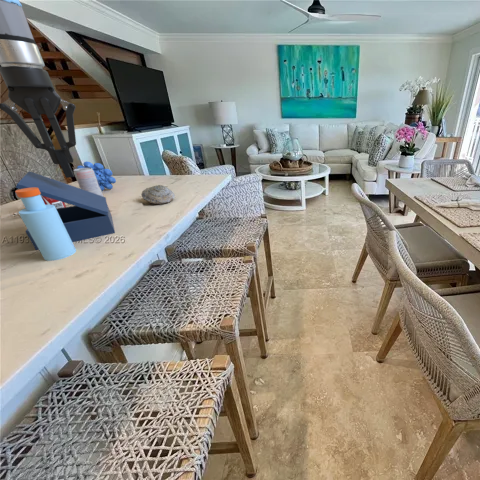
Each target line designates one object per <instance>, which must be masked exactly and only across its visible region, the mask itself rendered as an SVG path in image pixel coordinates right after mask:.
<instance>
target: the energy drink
mask: <svg viewBox="0 0 480 480" xmlns="http://www.w3.org/2000/svg"><path fill="white" fill-rule="evenodd" d="M73 174H74V177H75V179H76V181H77V184H78V187H79V188H80V189H83V190H85V191H88V192H91V193H94V194H97V195H100V196H103V197H105V196H104V194H103V191H101V188H100V186H99V183H98V181H97V178H96V176H95V173H94V171H93V169H92V168H79V169H77V168H75V169H73Z"/></svg>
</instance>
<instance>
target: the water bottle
mask: <svg viewBox="0 0 480 480" xmlns="http://www.w3.org/2000/svg"><path fill="white" fill-rule="evenodd" d="M14 192H15V194H16V196H17V198H20V200H21V203H22V205H23V206H24V208H23V209H20V210H19V211H18V214H19V216H20V218H21V220H22V222H23V223H24V225H25V227H26V229H28V231H29V233H30V234H31V236H32V238H33V240H34V241H35V243H36V245H37V247H38V249H39V250H38V251H39V252H40V254H41V255H42V258H43V259H44V261H49V262H52V261H58V260H63V259H66V258H69V257H71V256H73V255H75V253H76V252H77V249H76V247H75V244H74V242H72V240H71V238H70V236H69V234H68V232H67V230H66V228H65V226H64V224H63V222H62V220H61V218H60V216H59V214H58V212H57V210H56V208H55V206H54V205H45V203H44V201H43V199H42V197H41V195H40V194H41V192H40V190H39V188H37V187H32V188H24V189H16V190H15V191H14Z"/></svg>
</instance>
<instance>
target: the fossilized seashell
mask: <svg viewBox="0 0 480 480" xmlns="http://www.w3.org/2000/svg"><path fill="white" fill-rule="evenodd" d="M141 198H142V199H143V200H144V201H145V202H147V203H150V204H153V205H164V204H169V203H171V202H172V201H173V200H175V198H176V195H175V193H174V191H172V190H171V189H170V188H169V187H168V186H165V185H162V184H158V185H157V184H156V185H153V186H150V187H146V188H145V189H143V190H142V191H141Z"/></svg>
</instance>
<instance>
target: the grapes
mask: <svg viewBox="0 0 480 480" xmlns="http://www.w3.org/2000/svg"><path fill="white" fill-rule="evenodd" d="M82 164H83V165H77V167H76V169H79V168H92V169H93V171H94V173H95V176H96V178H97V181H98V183H99V186H100V188H101V191H102V192H103V191H104V190H106V189H107V190H112V189H113V188H114V186H113V184H116V182H117V180H116V178H115V177H114V176H113V175H114V174H113V172H112V170H111V169H109V168H105V167H104V165H103V164H102V163H100V162H95V163H92V162H90V161H84V162H83V163H82Z"/></svg>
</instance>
